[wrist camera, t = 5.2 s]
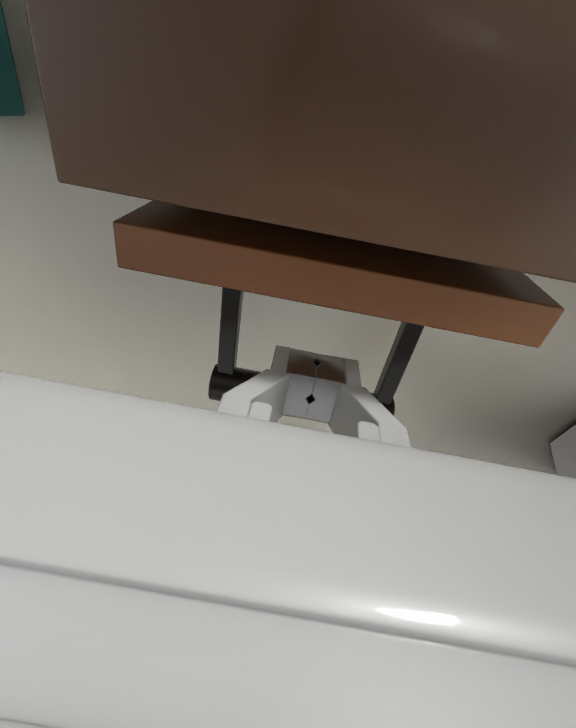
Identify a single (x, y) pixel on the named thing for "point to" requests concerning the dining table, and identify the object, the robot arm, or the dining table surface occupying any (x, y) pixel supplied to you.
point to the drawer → (330, 282)
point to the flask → (565, 453)
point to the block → (8, 77)
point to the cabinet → (328, 116)
